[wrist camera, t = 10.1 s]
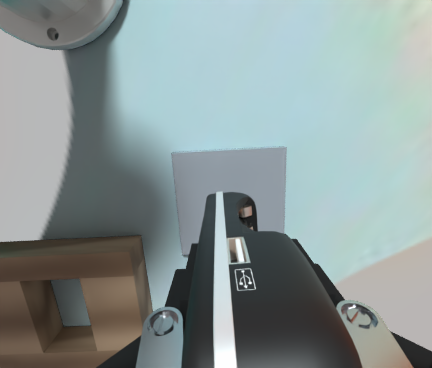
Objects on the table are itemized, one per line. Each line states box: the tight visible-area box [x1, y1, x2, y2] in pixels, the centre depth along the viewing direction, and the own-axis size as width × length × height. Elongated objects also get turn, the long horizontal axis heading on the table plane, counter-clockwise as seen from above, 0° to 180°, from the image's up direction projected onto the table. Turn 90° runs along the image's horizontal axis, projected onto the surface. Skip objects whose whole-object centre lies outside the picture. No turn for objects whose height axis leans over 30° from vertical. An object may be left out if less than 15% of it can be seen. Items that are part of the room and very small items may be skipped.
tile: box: [171, 146, 287, 255], centre depth 20 cm, size 10×10×1 cm
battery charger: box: [181, 191, 363, 368], centre depth 9 cm, size 7×4×11 cm, turn 5°
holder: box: [0, 235, 153, 368], centre depth 22 cm, size 14×16×3 cm
